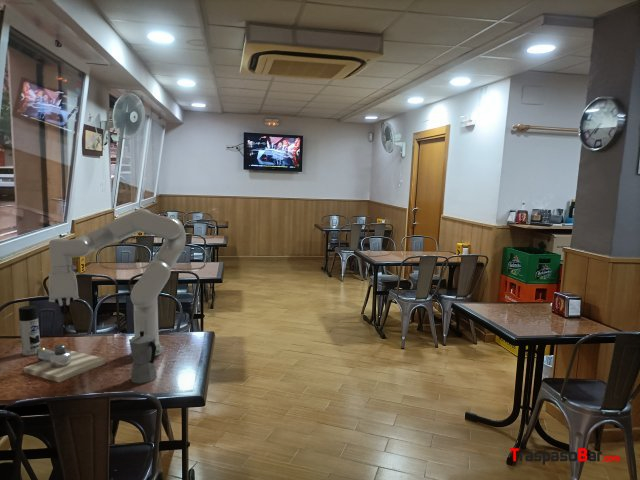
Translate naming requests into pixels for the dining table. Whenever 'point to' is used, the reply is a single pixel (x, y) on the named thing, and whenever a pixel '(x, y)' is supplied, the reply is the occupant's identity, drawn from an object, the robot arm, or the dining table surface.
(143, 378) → the coffeepot
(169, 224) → the robot arm
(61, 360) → the crank
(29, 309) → the spray can
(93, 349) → the dining table surface
